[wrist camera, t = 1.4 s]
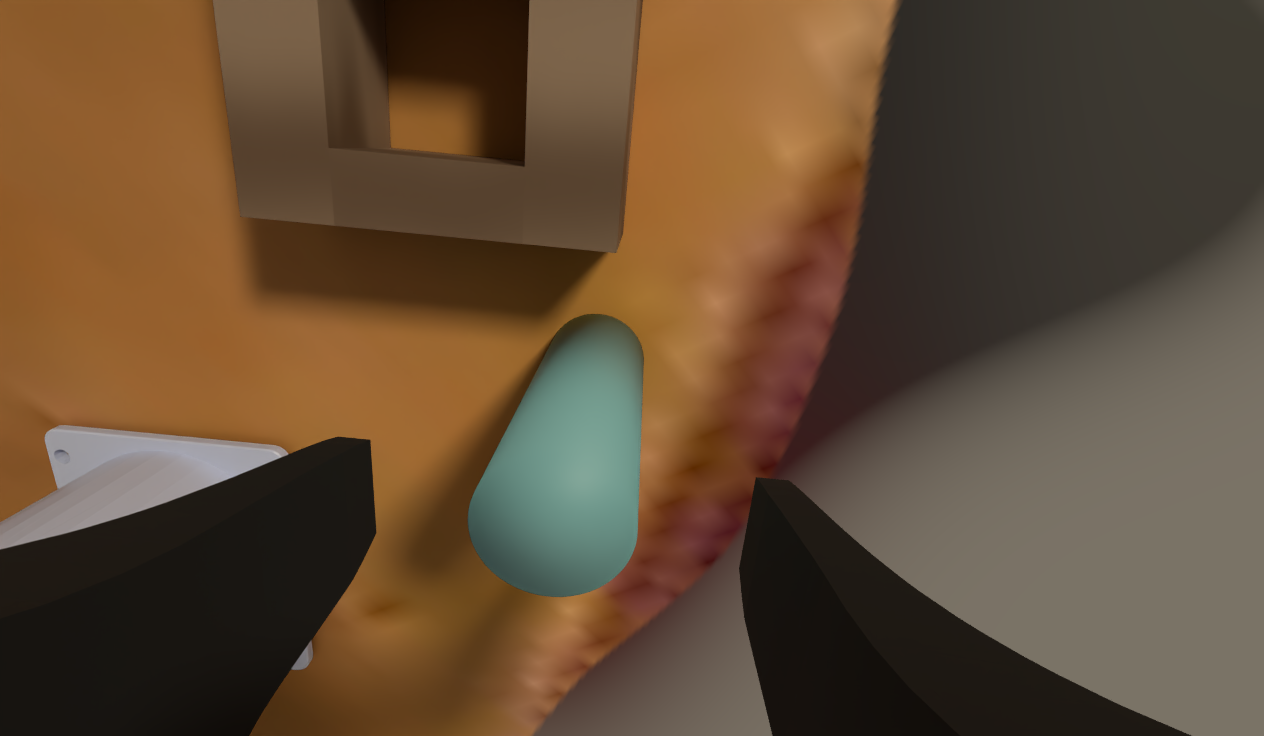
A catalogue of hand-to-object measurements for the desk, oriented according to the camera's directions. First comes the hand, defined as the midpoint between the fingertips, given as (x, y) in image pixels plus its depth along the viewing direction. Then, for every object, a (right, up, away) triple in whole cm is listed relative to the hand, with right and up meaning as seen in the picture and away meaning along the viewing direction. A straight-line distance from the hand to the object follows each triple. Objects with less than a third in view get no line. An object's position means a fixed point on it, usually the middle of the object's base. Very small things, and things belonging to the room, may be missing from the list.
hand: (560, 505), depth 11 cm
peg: (0, +3, +8) cm, 8 cm away
